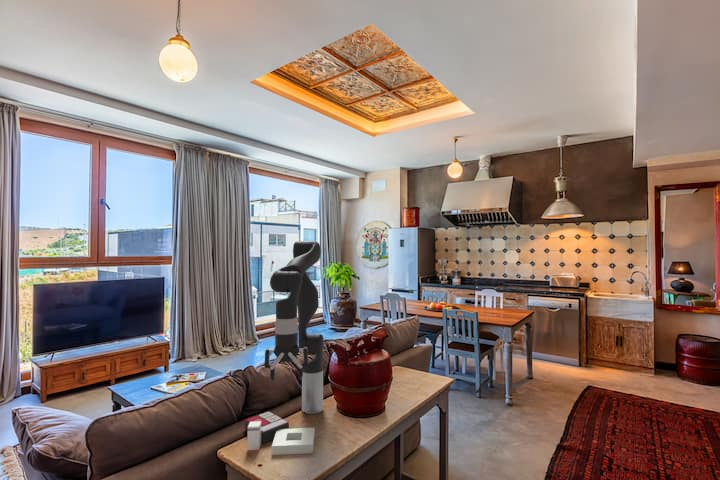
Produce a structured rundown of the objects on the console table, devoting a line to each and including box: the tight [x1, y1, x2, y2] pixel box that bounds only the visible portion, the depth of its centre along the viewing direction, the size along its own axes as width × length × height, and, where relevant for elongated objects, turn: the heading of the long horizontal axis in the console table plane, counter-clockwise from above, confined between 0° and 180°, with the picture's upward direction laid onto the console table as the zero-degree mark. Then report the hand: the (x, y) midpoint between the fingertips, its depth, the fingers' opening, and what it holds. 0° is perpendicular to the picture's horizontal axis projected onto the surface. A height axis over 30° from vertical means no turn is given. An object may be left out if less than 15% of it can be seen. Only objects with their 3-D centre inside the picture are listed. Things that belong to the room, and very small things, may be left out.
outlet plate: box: [271, 427, 316, 456], centre depth 130 cm, size 12×14×3 cm
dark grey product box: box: [244, 411, 290, 443], centre depth 140 cm, size 11×4×15 cm
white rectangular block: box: [246, 421, 262, 451], centre depth 129 cm, size 4×4×8 cm
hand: (286, 379), depth 121 cm, fingers open, 8 cm apart
